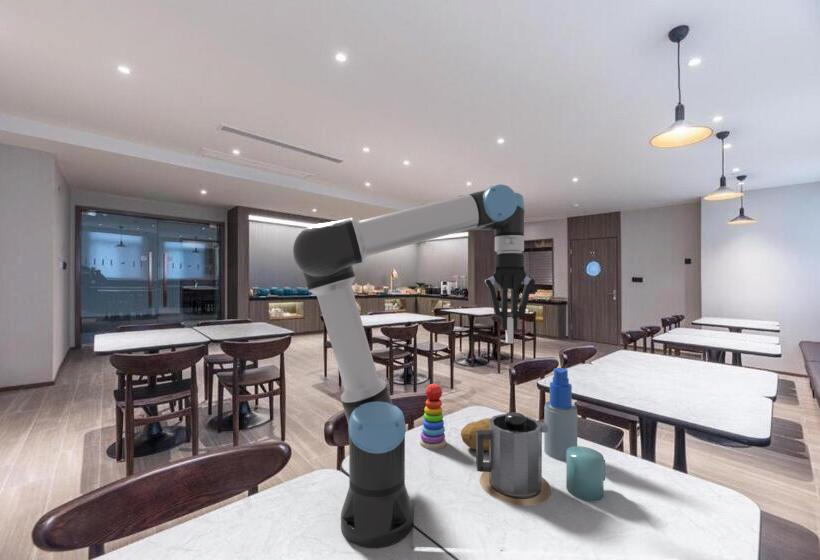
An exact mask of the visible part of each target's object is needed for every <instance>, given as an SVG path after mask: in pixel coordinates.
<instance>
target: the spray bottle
mask: <svg viewBox="0 0 820 560" xmlns="http://www.w3.org/2000/svg"><path fill="white" fill-rule="evenodd" d="M568 373H569V371H568V369H567V368H564V367H556V368H555V367H554V368H553V376H552V381H550V382H549V400H547V401H545V403H544V408H543V409H544V412H543V413H544V420H543V422H545V423H546V424H547V426H548V433H543V435H544V439H543V441H544V443H543V445H544V447H543V451H544V453H545V455H547V456H548V457H550V458H552V459H554V460H559V461H563V462H565V461H566V458H567V449H568V448H569V447H573V446H578V408H577V405H575V404H574V403H572V401H573V400H572V399H573V395H572V394H573V392H572V390H573V389H572V387H573V386H572V384H571V383H570V379H569V377H568V376H569V375H568Z"/></svg>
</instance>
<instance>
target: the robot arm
mask: <svg viewBox="0 0 820 560" xmlns="http://www.w3.org/2000/svg"><path fill="white" fill-rule="evenodd" d="M524 200H525V199H524V196H523V195H522V194H521V193H519V192H515V191H514V190H513V188H511V187H510V186H508V185H505V184H502V183H501V184H496V185H492V186H490V187H488V188H487V189H484V190H480V191H477V192H471V193H469V194H463V195H459V196H455V197H452V198H447V199H444V200H443V199H442V200H439V201H436V202H430V203H427V204H423V205H419V206H418V205H417V206H415V207H409V208H407V209H401V210H397V211H394V212H390V213H385V214H381V215H378V216H374V217H370V218H366V219H360V220H356V219H355V218H353V217H349V218H344V219H340V220H333V221H329V222H322V223H316V224H313V225H309V226H307V227H306V228H304V229H302V231H300V232H299V233H298V235H297V237H296V238H295V240H294V242H293V243H294V244H293V245H292V247H293V249H292V251H293V252H292V253H293V254H292V255H293V259H294V261H295V264H296V265H297V267H298V268H299V269H300V270H301V271H302V274H303V277H304V280H305V284H306V287H307V291H308V292H310V293H311V294H313V295H315V296H316V298H317V301H318V304H319V308H320V312H321V314H322V318H323V321H324V323H325V324H324V325H325V328H326V330H327V335H328V338H329V342H330V344H331V349H332V352H333V355H334V358H335V361H336V365H337V368H338V371H339V375H340V378H341V382H342V384H343V387H344V389H343V392H342V394H341V396H340V399H341V403H342V404H341V405H342V408H343V410H344V413H345V418H346V421H347V425H348V447H349V449H348V450H349V455H348V456H349V459H348V460H349V462H348V463H349V465H348V468H349V470H348V473H349V474H348V477H349V479H348V480H349V481H348V482H349V487H348V489H347V491H346V496H345V499H344V502H343V505H342V509H341V511H340V513H341V514H340V530H341V533H342V534H343V535H344V536H343V537H345V538H346V539H347V540H348V541H349V542H351V543H353V544H354V545H358V546H361V547H365V548H382V547H386V546H390V545H393V544H396V543H398V542H400V541H402V540H403V539H404V538H405V537H406V536H408V535H409V533H410V532H411V530H412V528H413V524H414V509H413V505H412V502H411V499H410V495H409V493H408V489H407V487H406V484H405V482H406V481H405V480H406V479H405V477H406V473H405V468H406V464H405V463H406V458H405V457H406V451H405V450H406V447H405V446H406V444H405V443H406V439H405V438H406V430H407V429H406V428H407V426H406V421H405V416H404V412H403V411H402V409H400V408H399V407H398V406H397V405H395V404H393V402H392V397H391V394H390V391H389V389H388V384H387V382H386V381H385V380H383V379H381V378H379V376H378V375H379V374H378V372H377V369H376V365H375V361H374V358H373V355H372V352H371V348H370V345H369V342H368V338H367V334H366V330H365V328H364V327H365V326H364V324H363V321H362V317H361V314H360V310H359V308H358V304H357V301H356V297H355V294H354V290H353V284H354V281H355V279H356V275H355V271H354V267H353V266H354V265H357V264H358V265H359V264H363V263H364V262H365V260H366V259H367V258H368V257H369V256H373V255H377V254H381V253H385V252H389V251H391V250H397V249H399V248H402V247H406V246H407V247H408V246H410V245H414V244H419V243H422V242H425V241H431V240H433V239H438V238H441V237H444V236H448V235H452V234H453V235H454V234H456V233H459V232H460V233H461V232H464V231H494V252H495V253H496V254H495V255H494V269H493V273H492V276H491V277H489V278H487V279H485V280H484V284H485V285H486V287H487V288H488V292H489V296H490V300H491V304H492V308H493V311H494V314H495V315H496V316H499V317H500V318H501V329H502V330H503V331H505V343H506V344H514V331H517V330H518V318H519V317H523V316H525V313H526V309H527V305H528V301H529V297H530V294H531V293H530V292H531V289H532V287H533V286H534V285H535V283H536V280H535V279H533V278H532V279H531V278H530V277H528V276H527V273H526V271H525V255H524V253H522V252H524V251H525V212H526V210H525V202H524ZM523 281H524V282H523ZM495 282H496V283H497V284H498V286H499V287H500V292H501V293H500V298H501V299H500V301H501V302H500V304H499V301H498V297H497V292H496V290H495V289H496V288H495V286H494V285H495V284H496V283H495ZM522 283H523V284H524V285H523V286H524V287H523V288H522V289H523V290H522V294H521V297H520V298H521V299H520V303H518V302H519V301H518V299H519V298H518V297H519V295H518V293H519V287H520V286H521V284H522ZM509 288H510V317H509V315H508V311H509V309H508V299H509V296H508V293H509ZM518 304H519V306H518ZM500 307H501V308H500Z"/></svg>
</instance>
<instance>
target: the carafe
mask: <svg viewBox="0 0 820 560" xmlns="http://www.w3.org/2000/svg"><path fill="white" fill-rule="evenodd" d="M506 414H507V413H503V414H498V415H497V414H496V415H493V416H492V417H491V419H490V420H489V430H479V431H477V430H476V450H475V454H476V455H475V457H476V458H475V467H476V470H477V471H476V472H481V473H484V472H489V483H490V486H491V487H492V488H493V489H494V490H495V491H496V492H498V493H500V494H502V495H504V496H507V497H510V498H515V499H530V498H533V497H536V496H537V495H539V494H540V492H541V485H542V477H543V471H542V469H543V464H542V463H543V459H542V458H543V454H542V453H543V434H544V433H548V426H547V424H546V423H545V422H544V421H538V420H535V419H534V418H532V417H529V416H527V415H526V416H525V415H524V429H523V430H520V431H517V432H513V430H510V429H508V428H507V427H506ZM483 439H489V451H488V461H484V450H483Z"/></svg>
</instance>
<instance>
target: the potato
mask: <svg viewBox="0 0 820 560" xmlns="http://www.w3.org/2000/svg"><path fill="white" fill-rule="evenodd" d="M491 418H492V417H491ZM491 418H482V419H480V420H476V421H472V422H469V423H467V424H466V425H465V426H464V427H463V428H462V429H461V431H460V436H461V440H462V441H463V443H464V444H465V445H466V446H468V448H470V449H472V450H475V451H476V430H477V431H479V430H489V420H490V419H491ZM484 451H485V452H486V451H487V452H489V439H483V452H484Z"/></svg>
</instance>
